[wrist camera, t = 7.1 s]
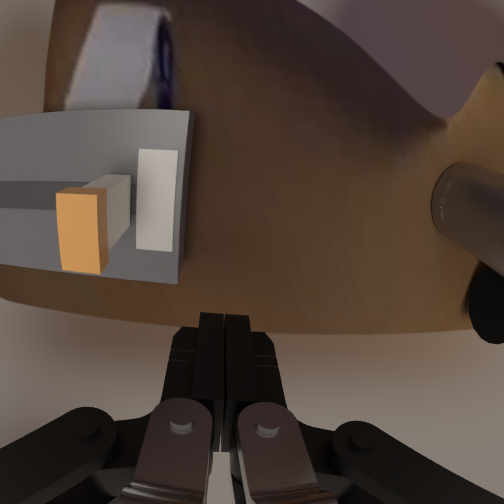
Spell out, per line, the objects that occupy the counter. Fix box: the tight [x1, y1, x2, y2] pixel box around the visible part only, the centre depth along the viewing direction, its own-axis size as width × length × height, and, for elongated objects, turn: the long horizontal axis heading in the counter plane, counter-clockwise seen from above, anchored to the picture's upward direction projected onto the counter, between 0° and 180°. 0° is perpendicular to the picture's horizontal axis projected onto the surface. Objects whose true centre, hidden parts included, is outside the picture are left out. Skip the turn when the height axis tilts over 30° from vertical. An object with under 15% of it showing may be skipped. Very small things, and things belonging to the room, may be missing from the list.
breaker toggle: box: [56, 174, 131, 274], centre depth 19 cm, size 3×5×8 cm, turn 173°
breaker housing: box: [0, 109, 195, 284], centre depth 25 cm, size 22×14×5 cm, turn 83°
